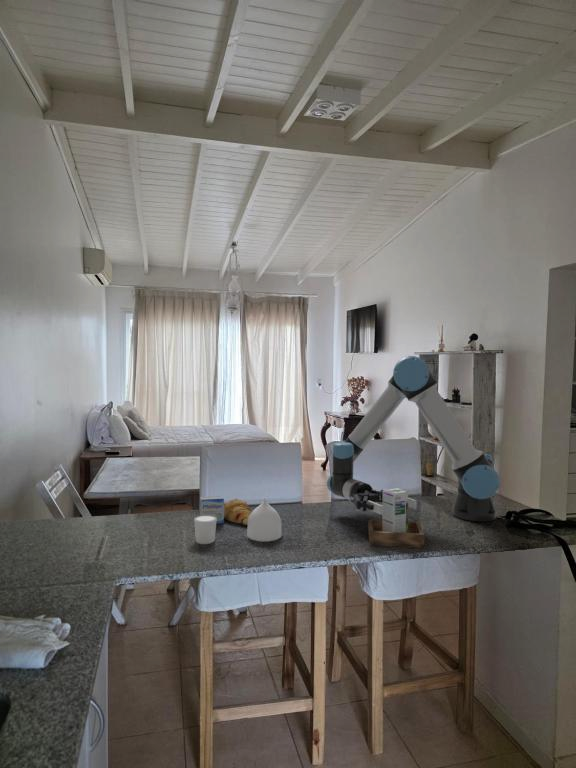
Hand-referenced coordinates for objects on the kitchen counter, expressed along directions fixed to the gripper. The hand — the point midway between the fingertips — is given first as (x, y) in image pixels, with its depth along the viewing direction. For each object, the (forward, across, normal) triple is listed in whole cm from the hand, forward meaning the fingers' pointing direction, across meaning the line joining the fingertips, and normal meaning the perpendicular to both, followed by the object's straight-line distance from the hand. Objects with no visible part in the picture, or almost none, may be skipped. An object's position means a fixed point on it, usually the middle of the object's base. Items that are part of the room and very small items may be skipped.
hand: (399, 507), depth 155 cm
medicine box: (-43, +46, -11) cm, 63 cm away
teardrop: (-23, +35, -11) cm, 43 cm away
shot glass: (-26, +54, -11) cm, 61 cm away
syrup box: (-2, 0, -10) cm, 10 cm away
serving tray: (-2, 0, -11) cm, 11 cm away
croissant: (-43, +37, -11) cm, 58 cm away
